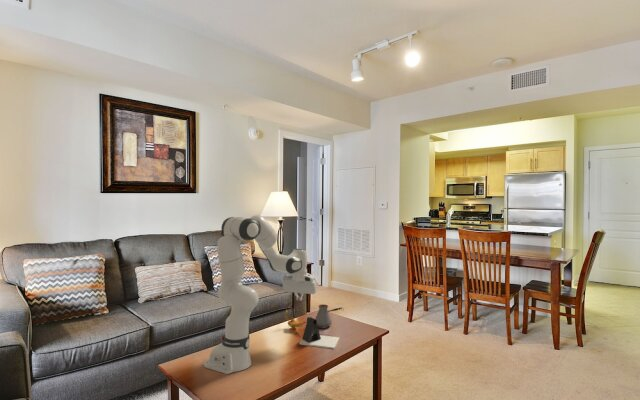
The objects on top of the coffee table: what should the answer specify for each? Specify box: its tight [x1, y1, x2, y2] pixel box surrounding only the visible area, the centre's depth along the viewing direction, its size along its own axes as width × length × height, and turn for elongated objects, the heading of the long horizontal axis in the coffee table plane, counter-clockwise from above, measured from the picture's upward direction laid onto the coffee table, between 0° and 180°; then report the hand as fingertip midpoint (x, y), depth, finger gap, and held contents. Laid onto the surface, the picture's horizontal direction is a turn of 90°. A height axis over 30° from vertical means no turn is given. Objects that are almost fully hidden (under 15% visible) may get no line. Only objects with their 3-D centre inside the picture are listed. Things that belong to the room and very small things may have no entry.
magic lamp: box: [284, 309, 307, 332], centre depth 208 cm, size 7×18×11 cm, turn 54°
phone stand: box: [301, 316, 321, 343], centre depth 193 cm, size 9×6×12 cm, turn 127°
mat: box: [299, 334, 341, 350], centre depth 191 cm, size 20×14×1 cm
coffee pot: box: [314, 304, 344, 329], centre depth 213 cm, size 21×12×15 cm, turn 50°
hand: (299, 300), depth 195 cm, fingers closed
